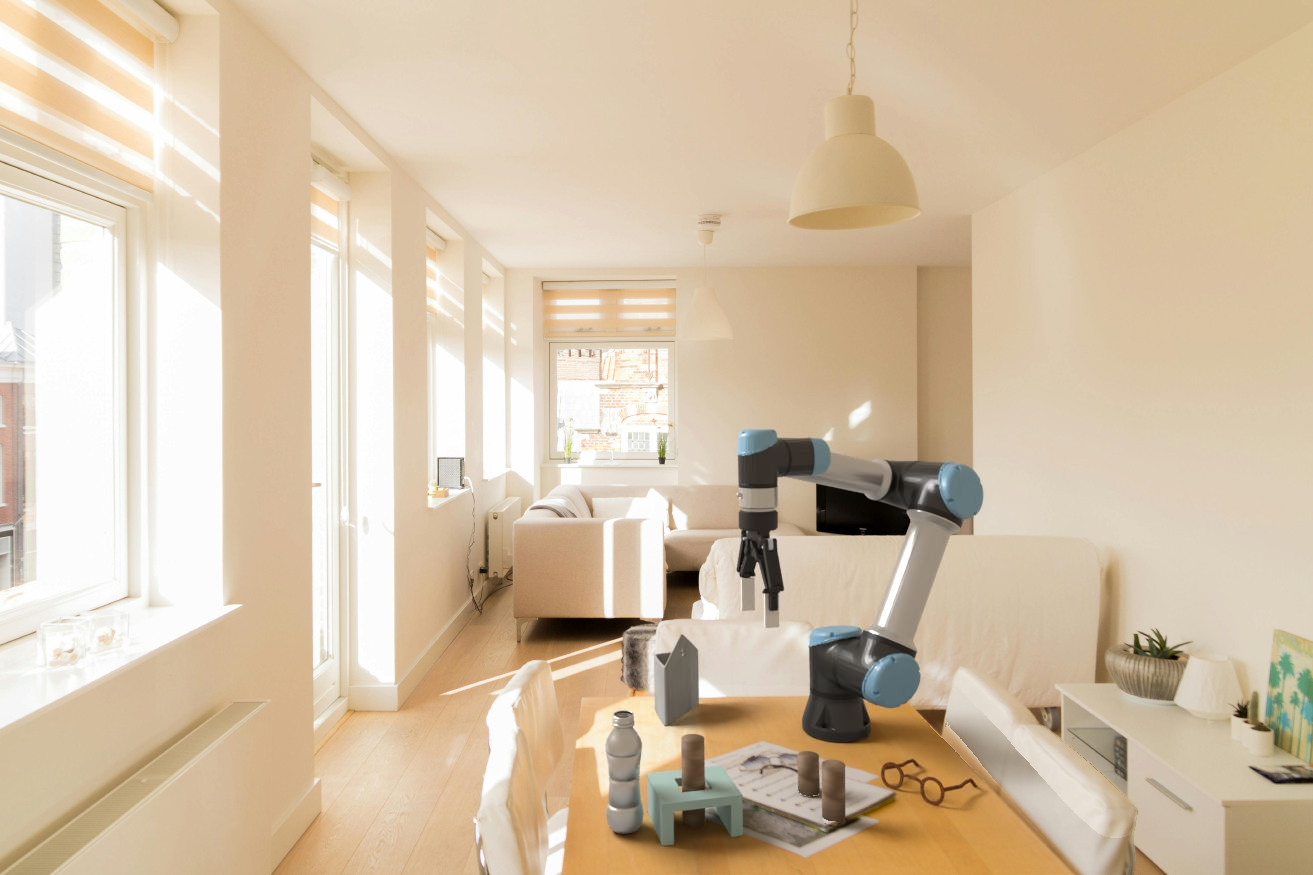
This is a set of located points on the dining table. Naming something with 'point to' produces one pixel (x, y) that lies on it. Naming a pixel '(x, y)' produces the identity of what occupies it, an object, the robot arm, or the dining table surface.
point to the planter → (676, 681)
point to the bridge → (693, 800)
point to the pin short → (808, 773)
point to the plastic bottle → (624, 775)
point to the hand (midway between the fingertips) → (759, 618)
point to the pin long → (693, 776)
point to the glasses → (920, 781)
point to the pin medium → (833, 791)
